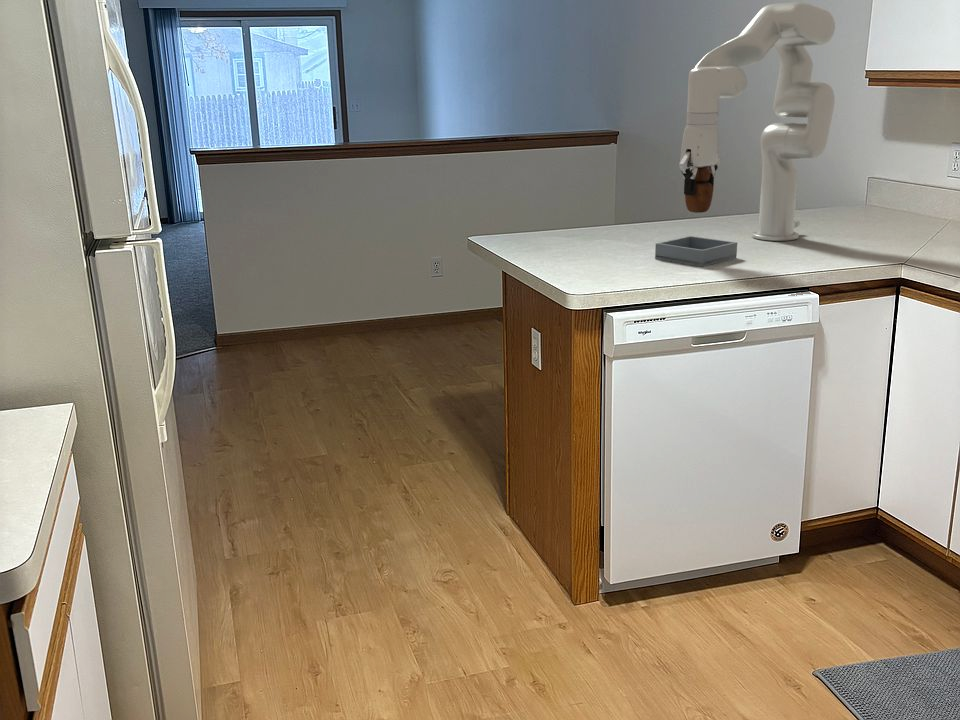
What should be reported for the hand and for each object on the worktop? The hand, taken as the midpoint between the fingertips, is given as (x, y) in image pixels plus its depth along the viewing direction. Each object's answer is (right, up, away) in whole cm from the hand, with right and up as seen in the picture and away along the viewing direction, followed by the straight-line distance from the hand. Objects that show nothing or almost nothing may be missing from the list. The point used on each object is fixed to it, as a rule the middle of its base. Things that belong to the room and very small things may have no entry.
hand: (698, 193), depth 231 cm
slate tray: (0, -16, +5) cm, 17 cm away
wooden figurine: (0, -5, +2) cm, 5 cm away
